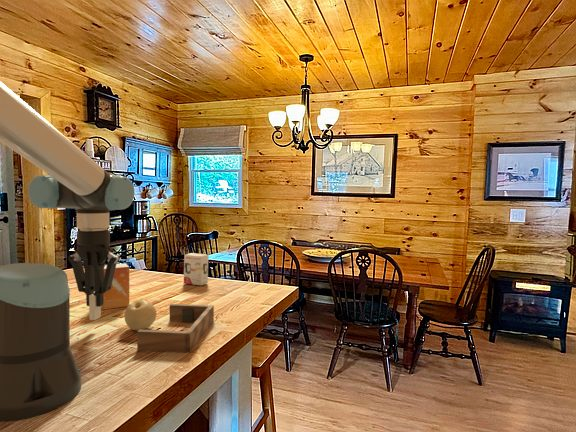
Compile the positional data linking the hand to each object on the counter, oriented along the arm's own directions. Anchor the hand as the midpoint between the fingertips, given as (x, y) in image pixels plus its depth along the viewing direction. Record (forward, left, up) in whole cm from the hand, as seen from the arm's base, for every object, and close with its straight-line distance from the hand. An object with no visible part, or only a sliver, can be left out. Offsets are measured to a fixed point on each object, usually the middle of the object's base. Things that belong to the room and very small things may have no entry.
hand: (95, 318), depth 98 cm
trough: (0, -23, -3) cm, 23 cm away
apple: (+2, -11, -4) cm, 12 cm away
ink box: (+52, -11, -4) cm, 53 cm away
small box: (+21, +6, -4) cm, 22 cm away
